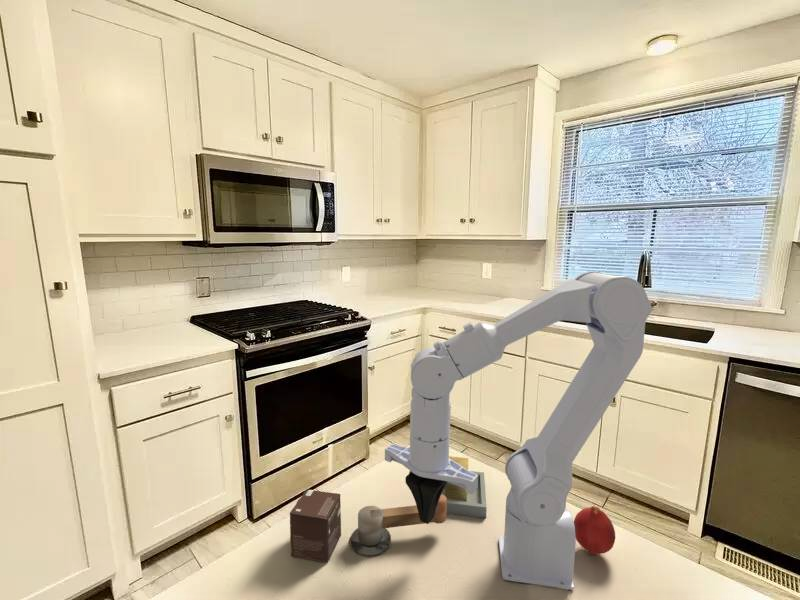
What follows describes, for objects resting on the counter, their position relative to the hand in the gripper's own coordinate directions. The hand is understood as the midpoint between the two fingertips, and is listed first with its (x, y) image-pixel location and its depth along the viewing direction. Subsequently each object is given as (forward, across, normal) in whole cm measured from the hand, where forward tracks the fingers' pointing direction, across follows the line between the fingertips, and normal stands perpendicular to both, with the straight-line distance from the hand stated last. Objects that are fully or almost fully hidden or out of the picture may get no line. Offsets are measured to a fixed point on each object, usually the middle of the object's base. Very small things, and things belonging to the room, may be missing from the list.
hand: (427, 518), depth 59 cm
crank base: (+6, +9, +2) cm, 11 cm away
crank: (+5, +5, -1) cm, 8 cm away
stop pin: (+6, +3, -16) cm, 17 cm away
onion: (+6, -21, -15) cm, 26 cm away
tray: (+6, +3, -16) cm, 17 cm away
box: (+7, +15, +8) cm, 18 cm away
